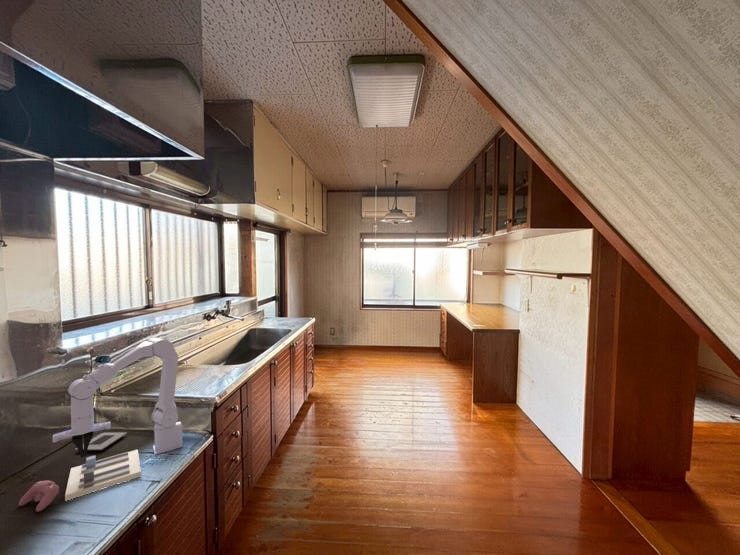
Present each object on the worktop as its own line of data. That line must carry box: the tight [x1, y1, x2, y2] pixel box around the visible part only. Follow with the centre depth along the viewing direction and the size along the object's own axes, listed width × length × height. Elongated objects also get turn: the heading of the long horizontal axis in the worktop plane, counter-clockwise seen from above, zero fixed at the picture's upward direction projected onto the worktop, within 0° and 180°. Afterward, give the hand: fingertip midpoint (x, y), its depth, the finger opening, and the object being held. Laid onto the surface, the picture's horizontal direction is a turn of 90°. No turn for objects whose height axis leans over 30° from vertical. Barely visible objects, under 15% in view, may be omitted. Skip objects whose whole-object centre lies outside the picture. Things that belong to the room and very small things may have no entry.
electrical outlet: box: [74, 432, 128, 452], centre depth 134 cm, size 13×10×2 cm
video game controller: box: [18, 479, 60, 513], centre depth 100 cm, size 10×5×7 cm, turn 71°
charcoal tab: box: [84, 468, 94, 483], centre depth 106 cm, size 2×2×3 cm
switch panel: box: [64, 449, 142, 502], centre depth 113 cm, size 19×18×3 cm
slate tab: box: [85, 455, 97, 469], centre depth 114 cm, size 2×2×3 cm
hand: (83, 455), depth 110 cm, fingers closed
